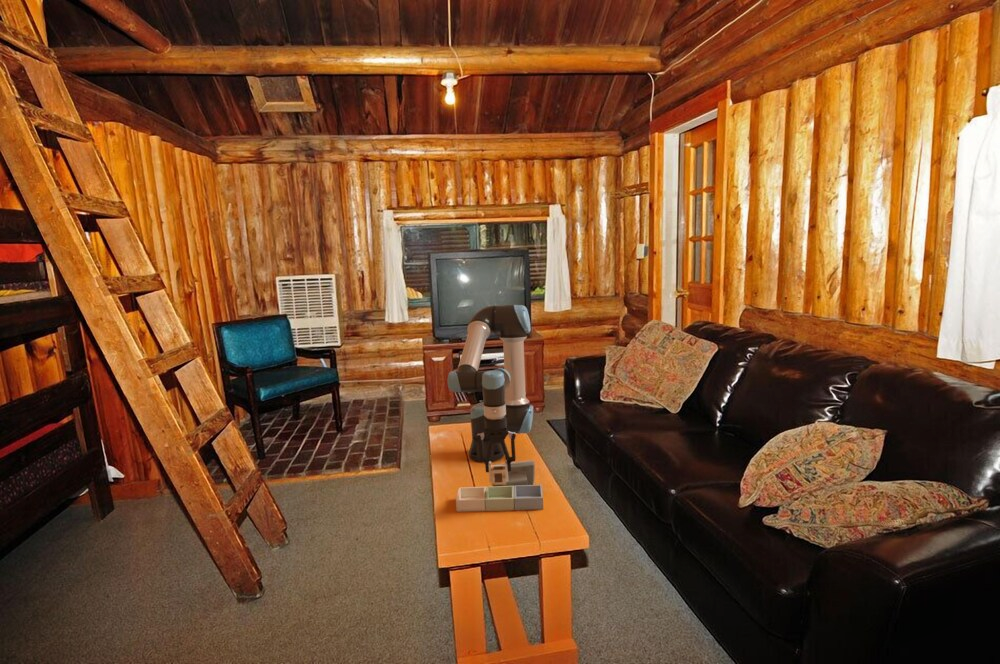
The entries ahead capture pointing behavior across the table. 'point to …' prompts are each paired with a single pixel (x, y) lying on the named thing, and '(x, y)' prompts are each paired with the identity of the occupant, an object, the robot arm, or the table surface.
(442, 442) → the table surface
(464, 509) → the caddy cream
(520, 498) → the box
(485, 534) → the table surface
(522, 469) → the digital clock
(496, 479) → the letter cube
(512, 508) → the box
